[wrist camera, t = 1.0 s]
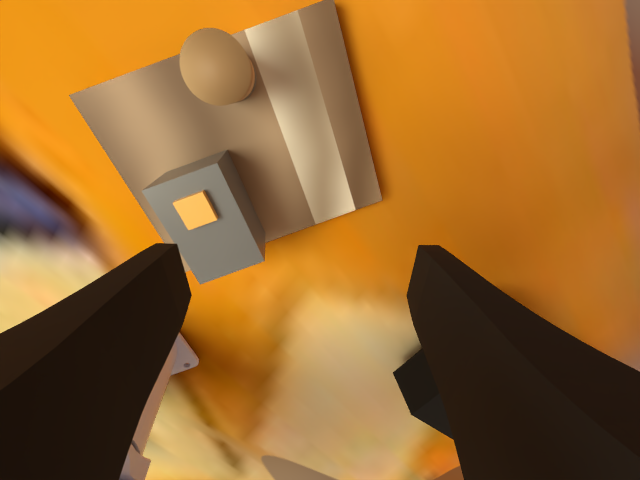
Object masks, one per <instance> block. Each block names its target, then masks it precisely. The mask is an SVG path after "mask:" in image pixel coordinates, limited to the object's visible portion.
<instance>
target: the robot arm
mask: <svg viewBox="0 0 640 480" xmlns="http://www.w3.org/2000/svg"><path fill="white" fill-rule="evenodd" d="M190 299H191V291H190V288H189V284H188V281H187V277H186V273H185V270H184V266H183V263H182V259H181V255H180V252H179V248H178V245H177V244H170V243H156V244H154V245H152V246H150V247H149V248H147V249H145V250H143V251H142V252H140V253H138V254H137V255H135V256H133V257H132V258H130V259H129V260H127V261H125V262H124V263H122V264H121V265H119V266H118V267H116V268H114V269H113V270H111V271H110V272H108V273H106V274H105V275H103V276H102V277H100V278H98V279H97V280H95V281H94V282H92V283H90V284H89V285H87V286H85V287H84V288H82V289H80V290H79V291H77V292H75V293H73V294H72V295H70V296H68V297H67V298H65V299H63V300H61V301H60V302H58V303H56V304H55V305H53V306H51V307H49V308H48V309H46V310H44V311H42V312H41V313H39V314H37V315H35V316H33V317H31V318H30V319H28V320H26V321H24V322H22V323H20V324H18V325H16V326H14V327H12V328H10V329H8V330H6V331H4V332H2V333H0V480H145V477H146V474H147V471H148V468H149V465H150V462H151V460H150V459H147V458H145V457H143V456H142V455H143V452H144V449H145V446H146V443H147V441H148V438H149V435H150V432H151V429H152V426H153V424H154V421H155V418H156V415H157V412H158V409H159V407H160V404H161V401H162V398H163V395H164V392H165V390H166V387H167V384H168V381H169V378H170V376H171V375H174V374H176V373H179V372H182V371H185V370H187V369H190V368H193V367H196V366H197V365H198V363H199V358H198V357H197V355H196V354H195V353H194V351H193V350H192V349H191V347H190V346H189V345H188V343H187V342H186V340H185V339H184V338H183V336H182V335H181V334H180V329H181V327H182V325H183V322H184V319H185V315H186V312H187V309H188V306H189V302H190ZM407 299H408V304H409V308H410V313H411V317H412V321H413V325H414V328H415V330H416V333H417V336H418V338H419V341H420V344H421V346H422V349H423V352H424V354H425V357H426V359H427V362H428V364H429V367H430V370H431V372H432V375H433V377H434V380H435V383H436V385H437V388H438V390H439V393H440V396H441V399H442V402H443V405H444V408H445V410H446V414H447V417H448V421H449V425H450V428H451V432H452V435H453V439H454V443H455V446H456V450H457V454H458V458H459V462H460V466H461V469H462V473H463V477H464V480H640V372H639V371H637V370H635V369H633V368H631V367H629V366H628V365H626V364H624V363H622V362H620V361H618V360H616V359H614V358H612V357H610V356H608V355H606V354H604V353H602V352H600V351H598V350H597V349H595V348H593V347H591V346H589V345H587V344H586V343H584V342H582V341H580V340H579V339H577V338H575V337H573V336H572V335H570V334H568V333H567V332H565V331H563V330H561V329H560V328H558V327H556V326H554V325H553V324H551V323H550V322H548V321H546V320H545V319H543V318H541V317H540V316H538V315H537V314H535V313H534V312H532V311H531V310H529V309H528V308H526V307H525V306H523V305H522V304H520V303H518V302H517V301H515V300H514V299H512V298H511V297H510V296H508V295H507V294H505V293H504V292H502V291H501V290H500V289H498V288H497V287H495V286H494V285H493V284H491V283H490V282H488V281H487V280H486V279H484V278H483V277H482V276H480V275H479V274H478V273H476V272H475V271H474V270H472V269H471V268H470V267H468V266H467V265H466V264H464V263H463V262H462V261H460V260H459V259H458V258H456V257H455V256H454V255H452V254H451V253H449V252H448V251H447V250H445V249H444V248H442V247H441V246H439V245H419V246H418V250H417V254H416V258H415V263H414V267H413V271H412V275H411V279H410V284H409V288H408V292H407ZM186 363H189V364H186Z"/></svg>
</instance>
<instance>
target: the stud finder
mask: <svg viewBox="0 0 640 480" xmlns="http://www.w3.org/2000/svg"><path fill="white" fill-rule="evenodd" d="M142 193H143V194H144V196H145V197H146V199H147V201H148V202H149V204H150V205H151V207H152V209H153V210H154V212H155V213H156V215H157V216H158V218H159V220H160V221H161V223H162V224H163V226H164V228H165V229H166V231H167V232H168V234H169V236H170V237H171V239H172V240H173V242H174V243H175V244H177V245H178V248H179V251H180V253H181V255H182V256H183V258H184V259H185V261H186V263H187V264H188V266H189V267H190V269H191V271H192V272H193V274H194V275H195V277H196V278H197V280H198V282H199V283H200V284H203V283H205V282H208V281H211V280H214V279H216V278H219V277H222V276H225V275H227V274H230V273H233V272H236V271H238V270H241V269H244V268H247V267H249V266H252V265H255V264H258V263H260V262H263V261H265V231H264V229H263V227H262V224H261V222H260V220H259V218H258V216H257V213H256V211H255V209H254V207H253V205H252V203H251V200H250V198H249V196H248V194H247V192H246V190H245V187H244V185H243V183H242V181H241V179H240V176H239V174H238V172H237V170H236V168H235V166H234V163H233V161H232V159H231V157H230V155H229V153H228V150H225V151H222V152H219V153H217V154H214V155H211V156H208V157H206V158H203V159H200V160H198V161H195V162H192V163H189V164H187V165H184V166H181V167H179V168H176V169H173V170H170V171H168V172H165V173H164V174H163V175H161V176H160V177H159V178H158V179H156V180H155V181H154V182H152V183H151V184H150V185H148V186H147V187H146V188H144V189H143V190H142Z"/></svg>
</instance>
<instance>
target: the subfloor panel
mask: <svg viewBox="0 0 640 480" xmlns="http://www.w3.org/2000/svg"><path fill="white" fill-rule="evenodd" d="M231 36H233V37H234V38H235V39H236V40H237V41H238V42H239V43H240V44H241V46H242V47H243V49H244V50H245V52H246V54H247V55H248V57H249V59H250V60H251V62H252V64H253V66H254V68H255V71H256V77H257V80H256V86H255V89H254V91H253V93H252V94H251V95H250V96H249V97H248V98H247V99H245V100H243V101H240V102H236V103H232V104H229V105H224V106H217V105H212V104H208V103H206V102H204V101H202V100H200V99H199V98H198V97H196V96H195V95H194V94H193V93H192V92H191V91H190V89H189V88H188V87H187V85H186V83H185V81H184V79H183V77H182V74H181V70H180V61H179V60H180V54H178V55H176V56H173V57H170V58H168V59H165V60H162V61H160V62H157V63H154V64H152V65H149V66H146V67H144V68H141V69H138V70H135V71H133V72H130V73H127V74H125V75H122V76H119V77H117V78H114V79H111V80H109V81H106V82H103V83H101V84H98V85H95V86H92V87H90V88H87V89H84V90H82V91H79V92H76V93H74V94H71V95H69V96H70V98H71V99H72V101H73V102H74V104H75V106H76V107H77V109H78V110H79V112H80V113H81V115H82V116H83V118H84V119H85V121H86V123H87V124H88V126H89V127H90V129H91V130H92V132H93V133H94V135H95V136H96V138H97V140H98V141H99V143H100V144H101V146H102V147H103V149H104V150H105V152H106V153H107V155H108V157H109V158H110V160H111V161H112V163H113V164H114V166H115V167H116V169H117V171H118V172H119V174H120V175H121V177H122V178H123V180H124V181H125V183H126V184H127V186H128V188H129V189H130V191H131V192H132V194H133V195H134V197H135V198H136V200H137V201H138V203H139V205H140V206H141V208H142V209H143V211H144V212H145V214H146V215H147V217H148V218H149V220H150V222H151V223H152V225H153V226H154V228H155V229H156V231H157V232H158V234H159V235H160V237H161V239H162V240H163V242H164V243H170V244H175V243H174V242H173V240H172V239H171V237H170V236H169V234H168V232H167V231H166V229H165V228H164V226H163V224H162V223H161V221H160V220H159V218H158V216H157V215H156V213H155V212H154V210H153V209H152V207H151V205H150V204H149V202H148V201H147V199H146V197H145V196H144V194H143V193H142V190H143V189H144V188H146V187H147V186H148V185H150V184H151V183H152V182H154V181H155V180H156V179H158V178H159V177H160V176H161V175H163V174H164V173H165V172H168V171H170V170H173V169H176V168H179V167H181V166H184V165H187V164H189V163H192V162H195V161H198V160H200V159H203V158H206V157H208V156H211V155H214V154H217V153H219V152H222V151H225V150H228V153H229V155H230V157H231V159H232V161H233V163H234V166H235V168H236V170H237V172H238V174H239V176H240V179H241V181H242V183H243V185H244V187H245V190H246V192H247V194H248V196H249V198H250V200H251V203H252V205H253V207H254V209H255V211H256V213H257V216H258V218H259V220H260V222H261V224H262V227H263V229H264V231H265V243H266V242H269V241H272V240H275V239H277V238H280V237H283V236H285V235H288V234H291V233H294V232H296V231H299V230H302V229H305V228H307V227H310V226H313V225H316V224H318V223H321V222H324V221H327V220H329V219H332V218H335V217H338V216H340V215H343V214H346V213H349V212H351V211H354V210H357V209H360V208H362V207H365V206H368V205H371V204H373V203H376V202H379V201H382V197H381V193H380V188H379V184H378V180H377V176H376V172H375V168H374V164H373V160H372V156H371V151H370V147H369V143H368V139H367V135H366V131H365V127H364V123H363V118H362V114H361V110H360V106H359V102H358V98H357V94H356V90H355V85H354V81H353V77H352V73H351V69H350V65H349V61H348V57H347V52H346V48H345V44H344V40H343V36H342V32H341V28H340V24H339V19H338V15H337V11H336V7H335V3H334V0H324V1H321V2H318V3H316V4H313V5H310V6H308V7H305V8H302V9H299V10H297V11H294V12H291V13H289V14H286V15H283V16H281V17H278V18H275V19H273V20H270V21H267V22H265V23H262V24H259V25H256V26H254V27H251V28H248V29H246V30H243V31H240V32H238V33H235V34H232V35H231ZM179 252H180V251H179ZM180 255H181V253H180ZM181 259H182V263H183V266H184V270H185V272H187V271H189V270H191V269H190V267H189V266H188V264H187V263H186V261H185V259H184V258H183V256H182V255H181Z"/></svg>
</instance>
